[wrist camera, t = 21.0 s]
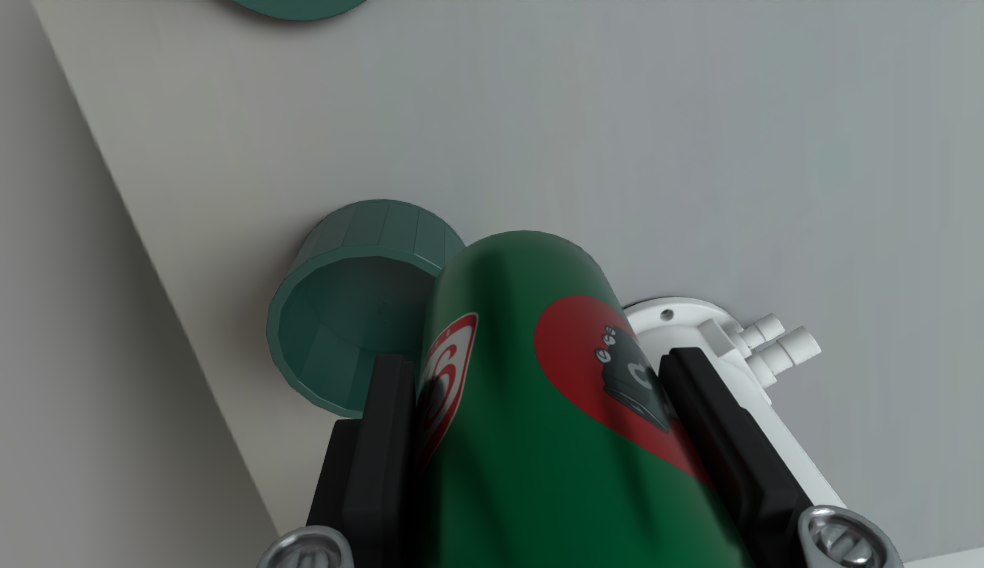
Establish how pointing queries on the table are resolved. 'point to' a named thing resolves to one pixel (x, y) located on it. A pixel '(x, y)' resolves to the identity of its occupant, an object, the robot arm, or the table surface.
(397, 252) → the green round container
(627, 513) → the soda can
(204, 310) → the table surface
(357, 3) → the lid
